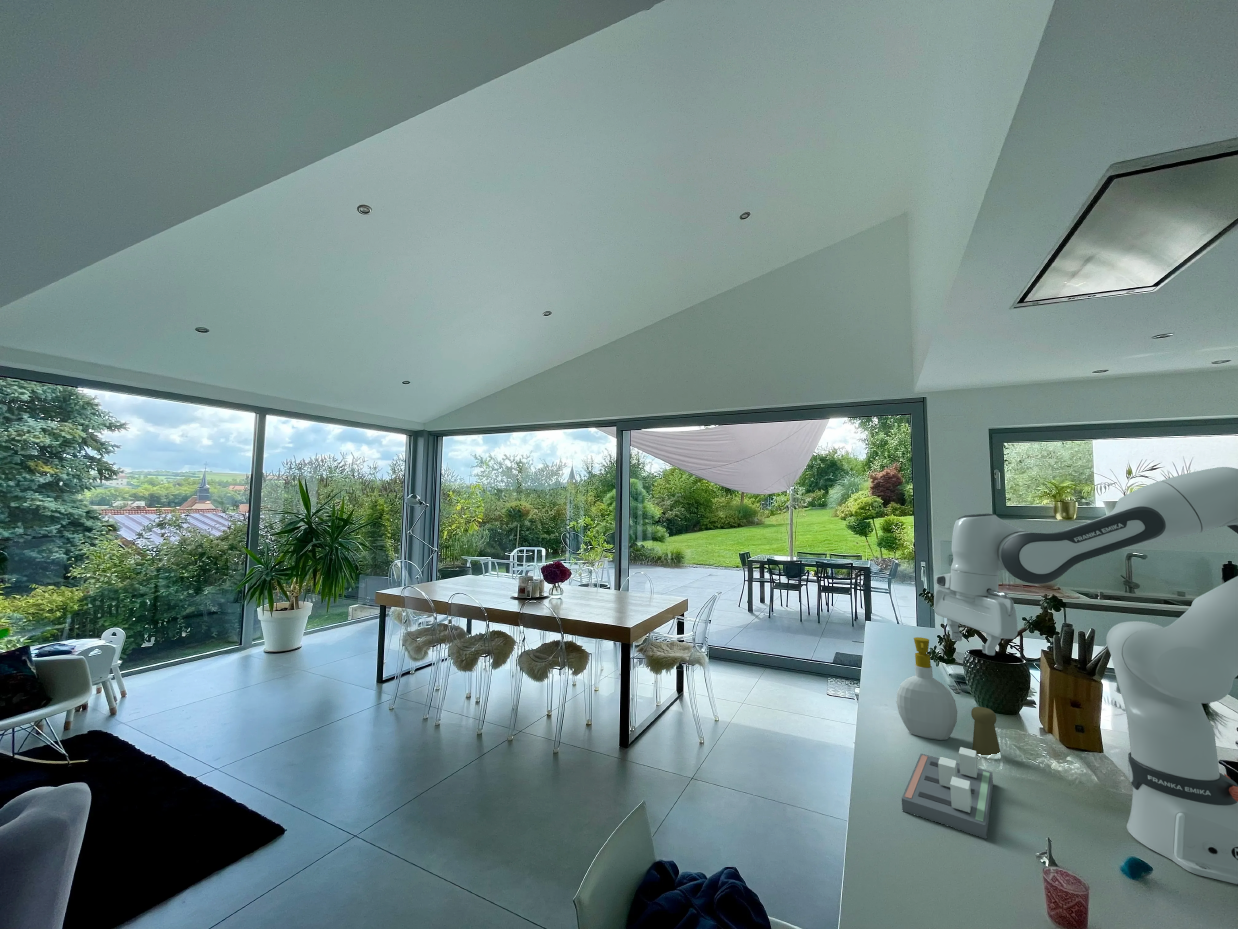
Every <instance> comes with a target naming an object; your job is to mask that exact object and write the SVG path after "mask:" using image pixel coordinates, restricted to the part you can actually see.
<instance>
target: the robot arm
mask: <svg viewBox="0 0 1238 929" xmlns="http://www.w3.org/2000/svg"><path fill="white" fill-rule="evenodd" d="M1221 527H1227V528H1229V529H1230V530H1232V531H1233V532H1235V534H1237V535H1238V468H1237V467H1231V466H1219V467H1214V468H1208V469H1201V470H1196V471H1192V472H1188V473H1183V474H1179V475H1176V476H1172V477H1171V476H1170V477H1168V478H1166V479H1165V478H1164V479H1162V480H1159V481H1156V482H1153V483H1150V484H1147V485H1144V486H1143V487H1140V488H1138V489H1135V490H1133V491H1131V492H1129V493H1127V494H1126V495H1123V496H1122V497H1120V498H1119V499H1118V500H1117V502H1116V503H1115V506H1114V508H1113V509H1112V510H1111V511H1110V512H1109V513H1107V514H1105V515H1103V516H1102V517H1099V518H1097V519H1094V520H1090V521H1088V522H1085V523H1082V524H1079V525H1075V526H1073V527H1070V528H1066V529H1064V530H1060V531H1057V532H1049V533H1047V532H1045V533H1044V532H1030V531H1027V530H1026V529H1023V528H1021V527H1018V526H1015V525H1012V524H1011V523H1008V522H1006V521H1004V520H1003V519H1001V518H1000V517H998V516H997V515H996V514H994V513H975V514H964V515H962V516H960V517H959V518H958V519H956V520H955V522H954V525H953V529H952V537H951V554H952V564H951V566H950V573H944V574H940V575H936V576H935V577H934V585H936V586H935V589H934V595H933V596H934V597H933V607H934V608H933V609H934V611H935V613H936V615H937V616H939V617H943V618H945V619H946V624H947V627H948V630H949V632H950V634H949V638H950V639H951V641H952V640H953V641H955V642H962V641H963V633H961V632H960V629H959V625H960V624H961V625H963V626H967V627H969V628H972V629H975V630H977V631H980V632H983V633H985V638H986V639H987V641H986V643H985V644H981V648H982V649H981V651H982V652H981V653H983V654H986V655H988V656H995V655H996V648H997V646H998V645H999V643H1000V642H1001V641H1002V640H1001V639H1007V640H1014V639H1015V638H1016V637H1017V636H1018V634H1019V633H1018V632H1019V631H1018V628H1019V627H1018V620H1017V619H1018V617H1017V611H1016V608H1015V602H1014V600H1013V599H1012V598H1011V596H1009V594H1008V593H1006V592H1003V591H1002V592H1001V591H999V583H1000V582H999V580H1000V579H999V576H1000V575H999V574H1000V571H1006V572H1008V573H1009V574H1010V575H1011V576H1012V577H1014V578H1015V579H1017V580H1020V581H1021V582H1025V583H1028V584H1033V585H1040V584H1041V585H1042V584H1047V583H1048V584H1049V583H1051V582H1054V581H1056V580H1057V579H1059V578H1061V577H1062V576H1063V575H1064V574H1066V573H1067V572H1068V571H1069V570H1070V569H1071V568H1072V567H1074V566H1076V565H1078V564H1079V563H1081V562H1084V561H1087V560H1090V559H1093V558H1096V557H1100V556H1103V555H1105V554H1106V555H1107V554H1109V553H1113V552H1115V551H1118V550H1121V549H1125V548H1129V547H1134V546H1138V545H1144V544H1151V543H1152V544H1153V543H1159V542H1167V541H1171V540H1176V539H1183V538H1187V537H1189V536H1193V535H1196V534H1200V533H1203V532H1207V531H1210V530H1214V529H1217V528H1221ZM1105 641H1106V642H1105V643H1106V646H1107V649H1108V651H1109V653H1110V656H1111V660H1112V665H1113V669H1114V674H1115V676H1116V681H1117V684H1118V688H1119V692H1120V694H1121V697H1122V701H1123V704H1124V709H1125V714H1126V720H1127V731H1128V738H1129V740H1128V741H1129V747H1130V748H1129V749H1130V752H1128V754H1127V755H1128V757H1127V758H1128V759H1127V768H1128V775H1129V776H1128V777H1129V782H1130V784H1131V786H1132V801H1131V808H1130V814H1129V816H1128V821H1127V823H1126V830H1127V831H1128V833H1129V834H1130V835H1131V836H1132V838H1134V839H1135V840H1136V841H1137V842H1139V843H1141V844H1142V845H1143V846H1145V847H1147V848H1149V849H1151V850H1152V851H1154V852H1156V853H1158V854H1160V855H1162V856H1163V857H1165V858H1167V859H1170V860H1171V861H1173V863H1175V864H1177V865H1178V866H1179V867H1181V868H1183V869H1184V870H1186V871H1187V872H1190V873H1192V874H1195V875H1197V876H1202V877H1205V878H1210V879H1215V880H1218V881H1221V882H1226V883H1231V884H1234V885H1238V783H1237V782H1235V781H1234V780H1233V779H1231V777H1230V776H1228V775H1227V774H1226V773H1224V774H1223V773H1221V772H1220V767H1219V758H1218V750H1217V742H1216V733H1215V730H1214V727H1213V725H1212V723H1211V722H1210V720H1209V718H1208V716H1207V715H1206V712H1205V710H1204V707H1203V704H1212V703H1215V702H1218V701H1221V700H1223V699H1224V698H1226V697H1227V695H1229V694H1230V692H1231V691H1232V688H1233V684H1234V679H1235V678H1237V676H1238V575H1237V576H1235V577H1233V578H1231V579H1229V580H1227V581H1226V582H1224V583H1222V584H1219V585H1218V586H1216V587H1214V588H1212V589H1211V590H1209V591H1207V592H1205V593H1203V594H1201V595H1199V596H1197V597H1196V598H1194V600H1193V601H1192V603H1191V606H1189V608H1188V609H1187V610H1186V611H1185V612H1184V613H1183V614H1182V615H1181V616H1180V617H1178V618H1177V619H1176V620H1175V621H1173V622H1172V623H1171V624H1169V625H1167V626H1162V625H1160V624H1157V623H1153V622H1149V621H1141V620H1139V621H1138V620H1137V621H1136V620H1134V621H1133V620H1131V621H1124V622H1119V623H1117V624H1115V625H1113V626H1112V627H1111V628H1110V629H1109V631H1107V634H1106V637H1105Z"/></svg>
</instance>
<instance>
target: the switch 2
mask: <svg viewBox="0 0 1238 929" xmlns="http://www.w3.org/2000/svg"><path fill="white" fill-rule="evenodd" d="M950 790H951V803H952V807H953V808H956V809H959V810H962V811H966V812H969V813H970V811H971V805H972V802H971V789H970V781H967V780H963V779H960V778H956V777H953V776H952V779H951V783H950Z"/></svg>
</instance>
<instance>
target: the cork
mask: <svg viewBox="0 0 1238 929" xmlns="http://www.w3.org/2000/svg"><path fill="white" fill-rule="evenodd" d="M970 713H971V717H972V720H974V724H973V737H972V749H971V750H975V751H976V754H981V755H991V754H997V753H999V752H1001V749H1000V744H999V738H998V735H997V731H996V726H995V724H997V723H996V722H997V715H996V713H995V712H994V711H993V710H992V709H991V708H987V707H985V706H984V707H983V706H974V707H972V709H971V712H970Z"/></svg>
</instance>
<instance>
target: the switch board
mask: <svg viewBox="0 0 1238 929" xmlns="http://www.w3.org/2000/svg"><path fill="white" fill-rule="evenodd" d="M939 759H940V757H936V756H934V755H933V756H932V755H929V754H925V753H920V755H919V756H918V758H917V761H916V763H915V765H914V769H913V770H912V773H911V776H910V778H909V780H908V783H907V785H906V788H905V789H904V792H903V794H902V797H901V811H902V810H903V811H905V812H904V813H906V812H909V813H911V814H910V815H912V814H915V815H918V816H921V817H923V818H922V819H924V818H927V819H930V820H932V821H931V822H933V821H935V822H934V823H936V822H939V823H941V824H940V825H942V824H945V825H948V826H952V827H954V828H956V829H955V830H957V829H959V830H958V831H960V830H962V831H961V832H963V831H964V833H967V834H969V833H970V835H972V834H973V835H972V836H975V835H976V837H978V836H979V838H982V839H984V840H987V838H988V828H989V821H990V812H991V804H992V796H993V788H994V777H993V771H990V770H986V769H982V768H978V773H977V778H975V777H971V776H967V775H964V774H960V764H959V762H957V774H958V778H960V779H963V780H967V781H970V789H971V802H972V805H971V811H970V813H969V812H966V811H962V810H959V809H956V808H953V807H952V803H951V790H950V787H946V786H943V785H940V784H939V770H938V762H939ZM903 811H902V812H903ZM909 813H908V814H909ZM915 815H914V816H915ZM918 816H917V817H918ZM921 817H920V818H921ZM927 819H926V820H927ZM930 820H929V821H930ZM939 823H938V824H939ZM945 825H944V826H945ZM948 826H947V827H948ZM954 828H953V829H954Z"/></svg>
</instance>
